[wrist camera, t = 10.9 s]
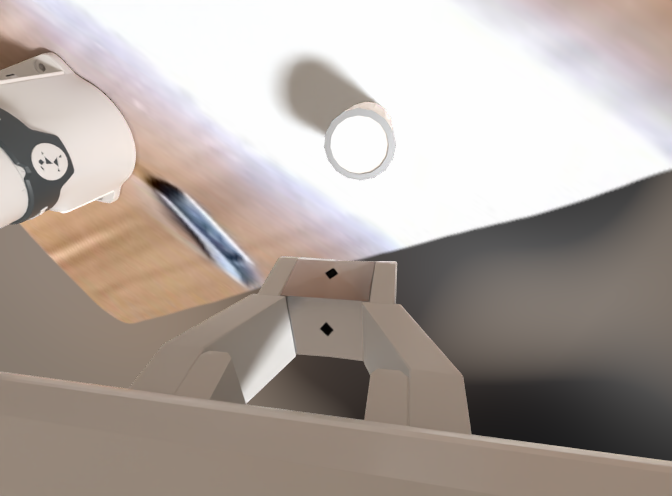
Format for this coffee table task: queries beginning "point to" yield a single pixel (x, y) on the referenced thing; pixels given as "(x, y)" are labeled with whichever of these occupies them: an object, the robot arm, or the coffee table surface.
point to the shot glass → (361, 141)
